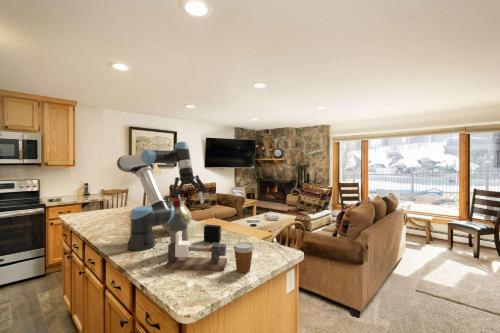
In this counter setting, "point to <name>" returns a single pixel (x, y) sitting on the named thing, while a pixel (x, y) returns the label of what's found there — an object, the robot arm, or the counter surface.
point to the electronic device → (212, 233)
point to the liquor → (178, 223)
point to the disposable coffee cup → (243, 256)
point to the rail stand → (198, 258)
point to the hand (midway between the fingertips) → (191, 205)
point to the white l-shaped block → (181, 246)
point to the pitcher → (183, 211)
